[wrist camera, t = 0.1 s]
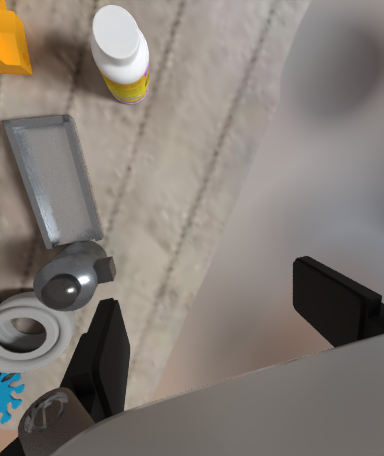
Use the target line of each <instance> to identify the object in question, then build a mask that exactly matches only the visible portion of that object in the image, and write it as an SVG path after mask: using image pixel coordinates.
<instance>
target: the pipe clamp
mask: <svg viewBox="0 0 384 456" xmlns="http://www.w3.org/2000/svg"><path fill="white" fill-rule="evenodd" d="M0 74H18V75H33V74H32V69H31V63H30V58H29V53H28V47H27V42H26V37H25V31H24V26H23V22H22V21H21V20H20V19H19V18H18V16H17V15H16V14H15V13H14V12H13V11H7V9H6V4H5V0H0Z"/></svg>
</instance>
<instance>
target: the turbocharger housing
mask: <svg viewBox="0 0 384 456" xmlns="http://www.w3.org/2000/svg"><path fill="white" fill-rule="evenodd" d="M19 317H25V318H31V319H35V320H37V321H39V322H40V323H41V324H42V325H43V326H44V327H45V329H46V332H44V333H41V334H35V335H31V334H25V333H22V332H20V331H18V330H17V329H15V328H14V327H13V325H12V323H11V319H13V318H19ZM74 328H75V317H74V313H73V311H66V312H64V311H56V310H53V309H50V308H48V307H46V306H45V305H43V304H42V303H41V302H40V301H39V300H38V298H37V297H36V295H35V292H24V293H20V294H17V295H14V296H12V297H10V298H8V299H6V300H5V301H3V302H2V303H1V304H0V372H1V373H21V372H27V371H31V370H35V369H38V368H40V367H43V366H45V365H47V364H49V363H50V362H52V361H53V360H55V359H56V358H57V357H59V356H60V355H61V354H62V353H63V351H64V350H65V349H66V347H67V346H68V344H69V342H70V339H71V337H72V334H73V331H74ZM37 348H38V349H37ZM31 349H36V350H31Z"/></svg>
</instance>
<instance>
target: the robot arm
mask: <svg viewBox="0 0 384 456" xmlns="http://www.w3.org/2000/svg"><path fill="white" fill-rule="evenodd" d="M381 300H382V296H381V295H380V294H378V293H376V292H374V291H372V290H370V289H368V288H367V287H365V286H363V285H361V284H359V283H357V282H355V281H353V280H352V279H350V278H348V277H346V276H344V275H342V274H341V273H339V272H337V271H335V270H333V269H331V268H329V267H327V266H325V265H324V264H322V263H320V262H318V261H316V260H314V259H312V258H311V257H309V256H304V257H300V258H297V259H296V260H295V261H294V262H293V306H294V308H295V310H296V311H297V312H298V313H299V314H300V315H301V316H302V317H303V318H304V319H305V320H306V321H307V322H309V323H310V324H311V325H312V326H313V327H314V328H315V329H316V330H317V331H318V332H319V333H320V334H321V335H322V336H323V337H324V338H325V339H326V340H327V341H328V342H329V343H330V344H332V345H333V346H334V347H335V348H332V349H328V350H325V351H321V352H318V353H314V354H311V355H307V356H304V357H300V358H297V359H293V360H290V361H286V362H283V363H279V364H276V365H273V366H269V367H266V368H262V369H259V370H255V371H252V372H249V373H245V374H242V375H239V376H235V377H232V378H228V379H225V380H222V381H219V382H215V383H212V384H209V385H205V386H202V387H198V388H195V389H191V390H188V391H185V392H181V393H178V394H175V395H172V396H169V397H166V398H162V399H159V400H156V401H153V402H150V403H147V404H143V405H140V406H138V407H135V408H132V409H129V410H126V411H124V404H125V395H126V386H127V377H128V368H129V359H130V344H129V340H128V336H127V332H126V329H125V325H124V321H123V317H122V314H121V310H120V306H119V302H118V300H115V301H114V299H113V298H109V299H105V300H101V301H100V302H99V304H98V307H97V309H96V312H95V314H94V317H93V319H92V322H91V324H90V327H89V329H88V332H87V333H84V334H82V336H81V337H80V340H79V342H78V345H77V347H76V349H75V352H74V354H73V356H72V359H71V361H70V363H69V366H68V368H67V371H66V373H65V375H64V378H63V380H62V382H61V385H60V387H59V388H56V389H53V390H51V391H49V392H47V393H45V394H44V395H42V396H41V397H39V398H38V399H37V400H36V401H35V402H34V403H32V404H31V406H30V407H29V408H28V409H27V410H26V412H25V413H24V415H23V416H22V418H21V420H20V423H19V426H18V437H17V438H16V439H15V440H14V441H13V442H11V443H10V444H9V445H8V446H7V447H6V448H5V449H4V450H3V451H1V452H0V456H384V304H383V303H381Z"/></svg>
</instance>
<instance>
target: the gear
mask: <svg viewBox="0 0 384 456" xmlns="http://www.w3.org/2000/svg"><path fill="white" fill-rule="evenodd" d="M9 374H10V373H2V374H1V376H0V412H2V413H3V416H2V418H1V424H3V423H5V422H7V421H8V420H10V419H11V414H9V413H8V410H7V404H8V403H9V402H12V408H13V409H16V408H17V407H18V406H19V405H20V404H21V402H22V400H21V399H14V398H13V397H12V396H11V393H12V391H13V390H15V391H16V393H21V392H23V391H24V387H25V385H19V386H18V387H10V386H9V384H10V382H11V381H18V380H20V379H21V375H20V373H16V374H15V375H14V376H13V377H12V378H11V379H9V380H8V381H5V382H3V380H2V379H3V377H5V376H7V375H9Z"/></svg>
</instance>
